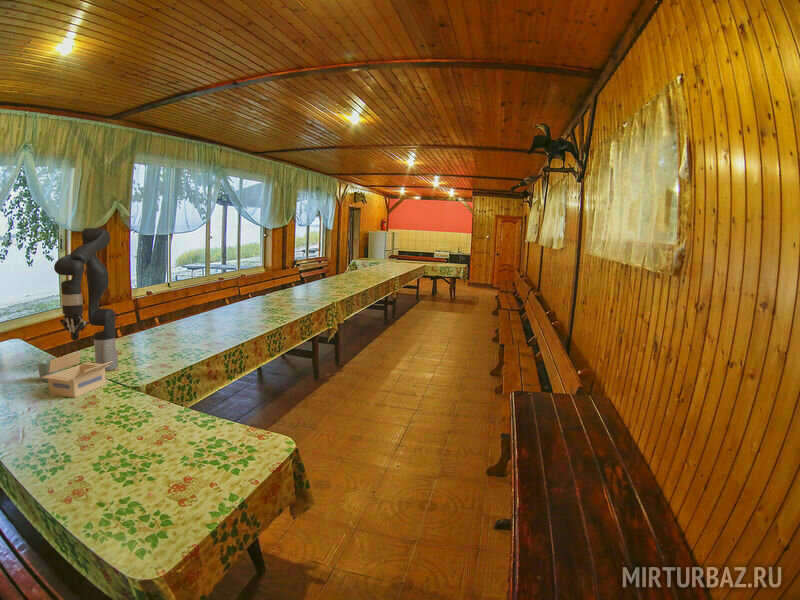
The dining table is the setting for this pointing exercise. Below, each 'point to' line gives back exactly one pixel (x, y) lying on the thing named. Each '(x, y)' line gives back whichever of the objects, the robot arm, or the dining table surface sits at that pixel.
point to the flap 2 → (94, 369)
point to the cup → (45, 369)
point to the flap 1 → (64, 362)
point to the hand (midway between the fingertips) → (75, 339)
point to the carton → (76, 380)
